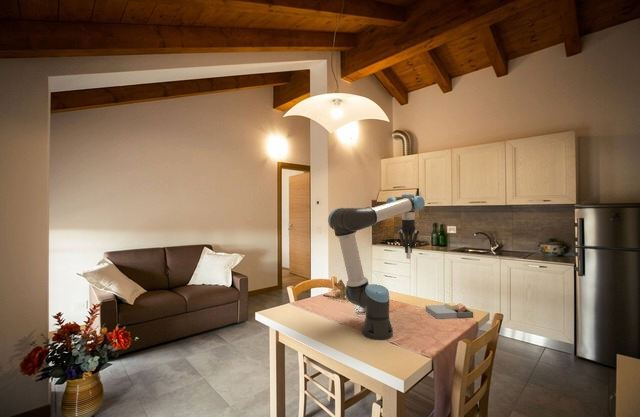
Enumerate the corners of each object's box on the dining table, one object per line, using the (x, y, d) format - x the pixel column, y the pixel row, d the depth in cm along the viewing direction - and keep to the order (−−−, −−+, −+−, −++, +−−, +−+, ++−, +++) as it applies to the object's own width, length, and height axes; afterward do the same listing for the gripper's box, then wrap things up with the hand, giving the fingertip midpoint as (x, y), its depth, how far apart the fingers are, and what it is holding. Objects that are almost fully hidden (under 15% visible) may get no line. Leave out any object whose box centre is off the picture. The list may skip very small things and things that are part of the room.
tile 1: (458, 309, 177) (458, 305, 177) (450, 309, 176) (450, 305, 176) (453, 306, 182) (453, 302, 182) (446, 307, 181) (446, 303, 181)
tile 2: (457, 310, 177) (459, 313, 177) (464, 305, 177) (466, 309, 177) (453, 307, 182) (455, 310, 182) (459, 303, 182) (461, 306, 182)
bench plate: (456, 317, 172) (456, 312, 172) (436, 318, 171) (436, 313, 171) (444, 309, 186) (444, 304, 186) (425, 310, 185) (425, 305, 185)
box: (473, 317, 172) (473, 312, 172) (457, 318, 171) (457, 312, 171) (458, 308, 187) (458, 304, 187) (443, 309, 186) (443, 304, 186)
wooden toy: (354, 299, 209) (353, 279, 209) (345, 303, 201) (345, 282, 201) (328, 294, 223) (328, 275, 223) (319, 297, 215) (319, 278, 215)
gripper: (415, 219, 187) (416, 257, 187) (395, 219, 186) (395, 257, 186) (421, 219, 180) (421, 259, 179) (400, 219, 178) (400, 259, 178)
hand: (408, 258), depth 183 cm, fingers closed
